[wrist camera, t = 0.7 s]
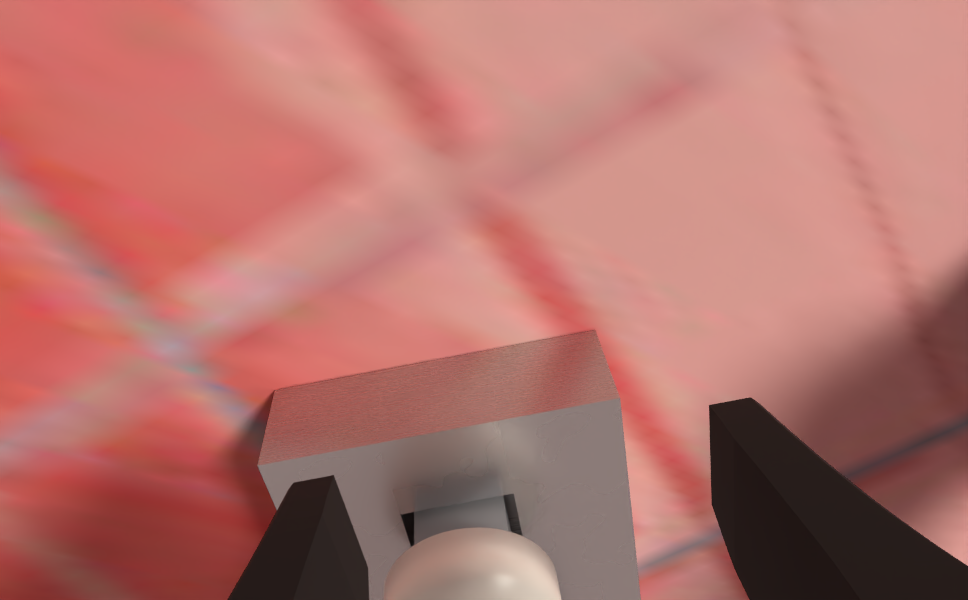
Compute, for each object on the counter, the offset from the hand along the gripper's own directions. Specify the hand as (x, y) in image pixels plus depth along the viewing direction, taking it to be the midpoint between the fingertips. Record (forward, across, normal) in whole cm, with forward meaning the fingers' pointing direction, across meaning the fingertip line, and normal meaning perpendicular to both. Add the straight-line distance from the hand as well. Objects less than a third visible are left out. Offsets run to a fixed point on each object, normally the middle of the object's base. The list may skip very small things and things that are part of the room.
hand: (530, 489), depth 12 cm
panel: (+9, +2, +14) cm, 17 cm away
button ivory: (+7, +2, +8) cm, 11 cm away
